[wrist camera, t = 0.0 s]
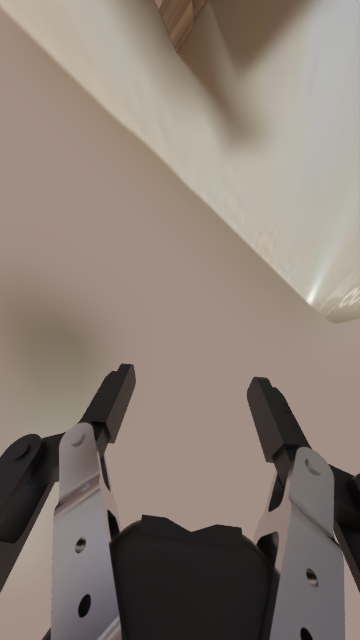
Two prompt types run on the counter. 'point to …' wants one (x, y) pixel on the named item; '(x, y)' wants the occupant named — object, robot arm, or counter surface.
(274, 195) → the counter surface
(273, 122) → the counter surface
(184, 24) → the frame
